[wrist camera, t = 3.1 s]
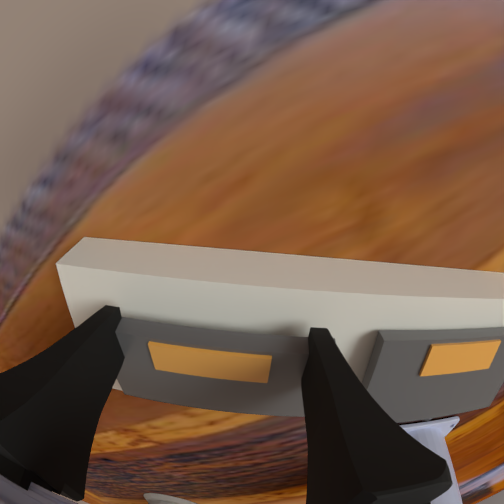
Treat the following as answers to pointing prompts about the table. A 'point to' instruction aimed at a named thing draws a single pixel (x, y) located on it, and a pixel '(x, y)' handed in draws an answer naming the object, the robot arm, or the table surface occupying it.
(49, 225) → the table surface
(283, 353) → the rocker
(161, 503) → the french press
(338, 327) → the rocker switch panel
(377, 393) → the rocker
